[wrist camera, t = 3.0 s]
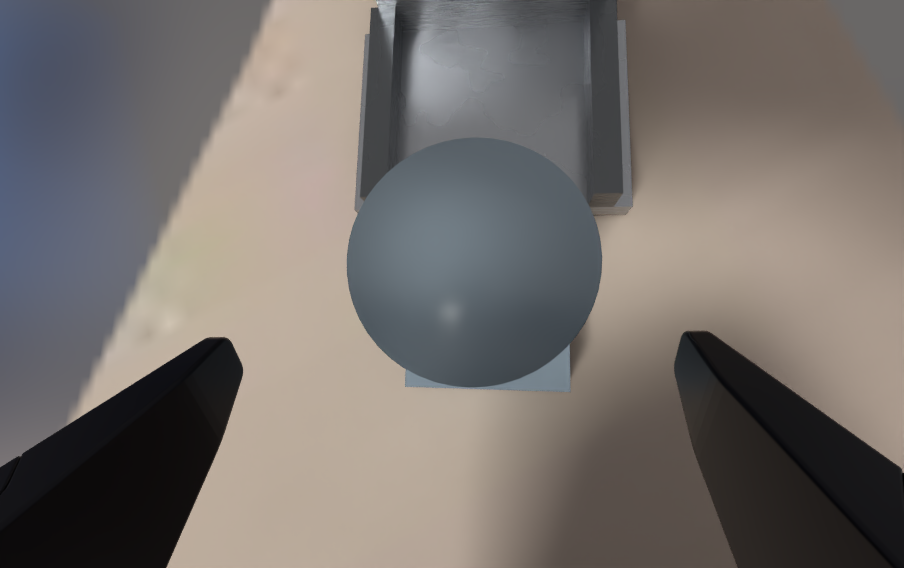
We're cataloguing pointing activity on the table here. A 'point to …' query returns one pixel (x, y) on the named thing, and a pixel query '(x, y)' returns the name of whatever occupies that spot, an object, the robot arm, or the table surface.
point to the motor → (500, 87)
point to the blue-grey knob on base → (476, 267)
